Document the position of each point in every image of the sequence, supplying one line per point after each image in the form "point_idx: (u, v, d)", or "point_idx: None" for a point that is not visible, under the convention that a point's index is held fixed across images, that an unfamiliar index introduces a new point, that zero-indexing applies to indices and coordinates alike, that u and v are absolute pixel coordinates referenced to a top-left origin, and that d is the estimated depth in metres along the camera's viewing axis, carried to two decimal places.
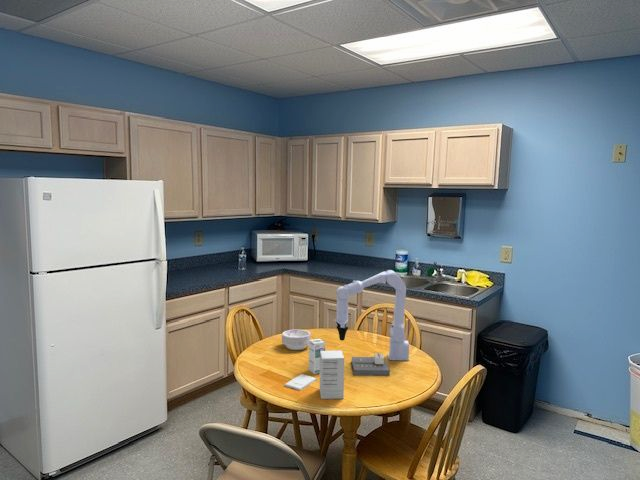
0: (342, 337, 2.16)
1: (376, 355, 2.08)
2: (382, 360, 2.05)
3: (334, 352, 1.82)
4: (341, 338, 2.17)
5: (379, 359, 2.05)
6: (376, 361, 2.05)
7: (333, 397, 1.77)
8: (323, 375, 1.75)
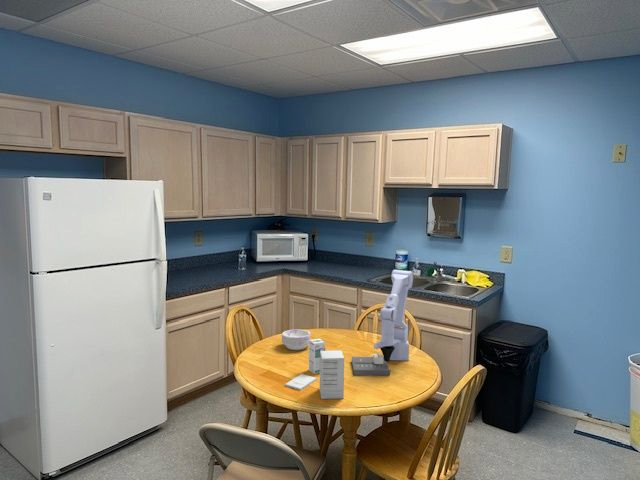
0: (385, 358, 2.07)
1: (375, 355, 2.08)
2: (381, 360, 2.05)
3: (334, 352, 1.82)
4: (385, 359, 2.08)
5: (378, 359, 2.05)
6: (375, 361, 2.05)
7: (333, 397, 1.77)
8: (323, 375, 1.75)
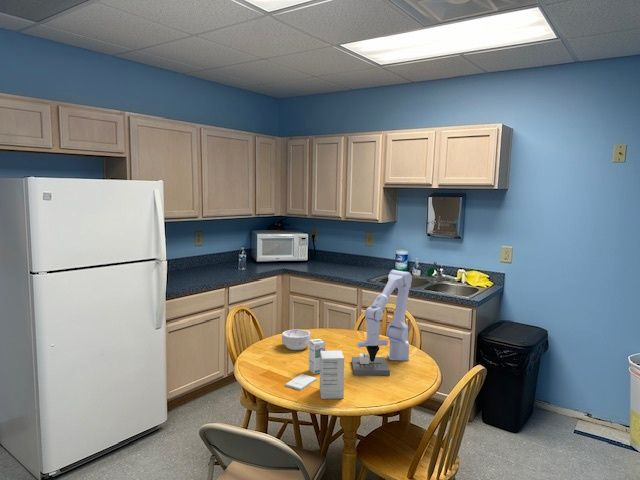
0: (370, 358, 2.07)
1: (361, 355, 2.08)
2: (367, 360, 2.05)
3: (334, 352, 1.82)
4: (370, 358, 2.08)
5: (364, 359, 2.05)
6: (361, 361, 2.05)
7: (333, 397, 1.77)
8: (323, 375, 1.75)
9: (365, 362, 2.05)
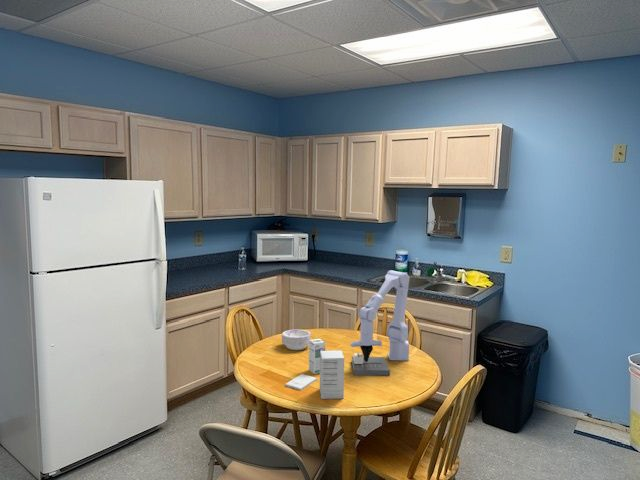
0: (364, 358, 2.07)
1: (356, 355, 2.08)
2: (361, 360, 2.05)
3: (334, 352, 1.82)
4: (364, 358, 2.08)
5: (358, 359, 2.05)
6: (355, 361, 2.05)
7: (333, 397, 1.77)
8: (323, 375, 1.75)
9: (359, 362, 2.05)
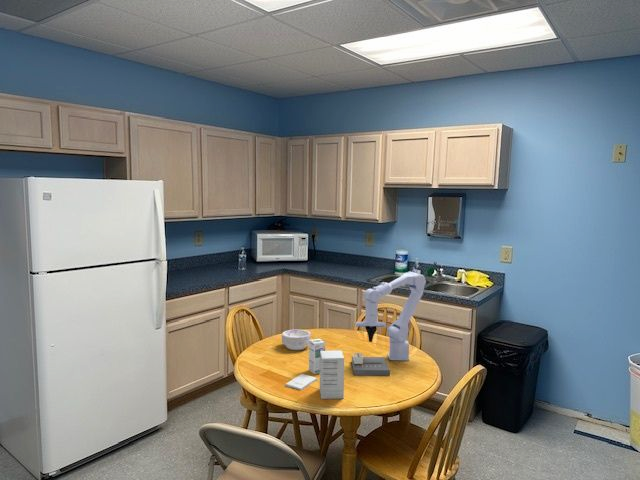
0: None
1: (356, 355, 2.08)
2: (361, 360, 2.05)
3: (334, 352, 1.82)
4: None
5: (358, 359, 2.05)
6: (355, 361, 2.05)
7: (333, 397, 1.77)
8: (323, 375, 1.75)
9: (359, 362, 2.05)
